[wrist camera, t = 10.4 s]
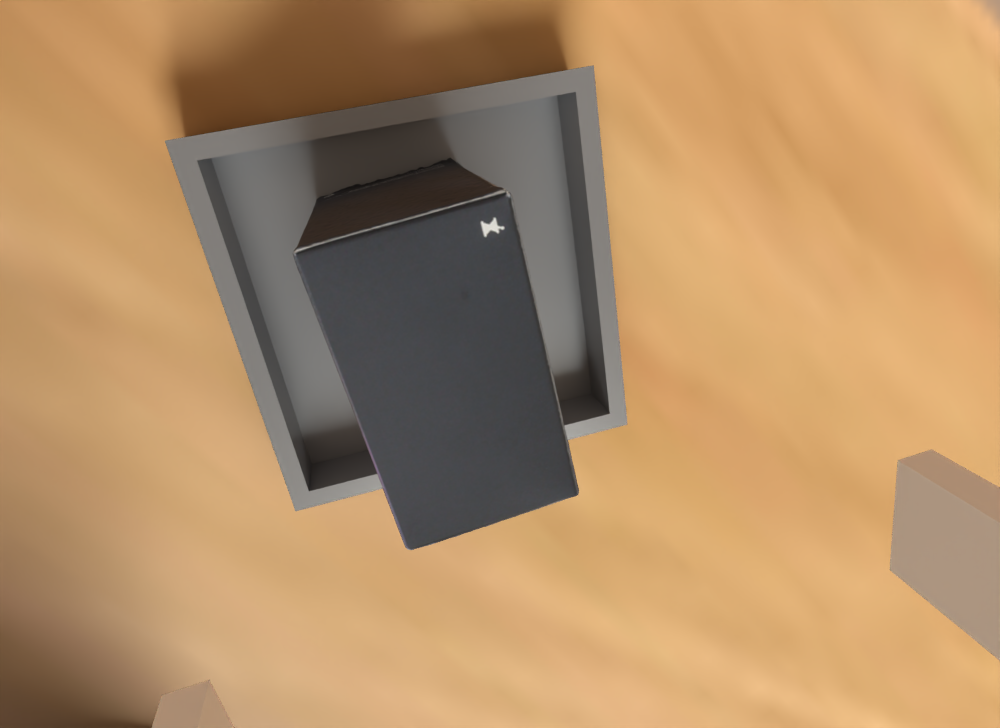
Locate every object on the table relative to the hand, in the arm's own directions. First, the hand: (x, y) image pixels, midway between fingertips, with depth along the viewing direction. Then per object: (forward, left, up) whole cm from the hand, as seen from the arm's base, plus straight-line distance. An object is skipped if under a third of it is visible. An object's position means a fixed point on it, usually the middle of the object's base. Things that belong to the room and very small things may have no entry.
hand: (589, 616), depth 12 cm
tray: (-1, +2, -19) cm, 19 cm away
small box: (-1, +1, -19) cm, 19 cm away
